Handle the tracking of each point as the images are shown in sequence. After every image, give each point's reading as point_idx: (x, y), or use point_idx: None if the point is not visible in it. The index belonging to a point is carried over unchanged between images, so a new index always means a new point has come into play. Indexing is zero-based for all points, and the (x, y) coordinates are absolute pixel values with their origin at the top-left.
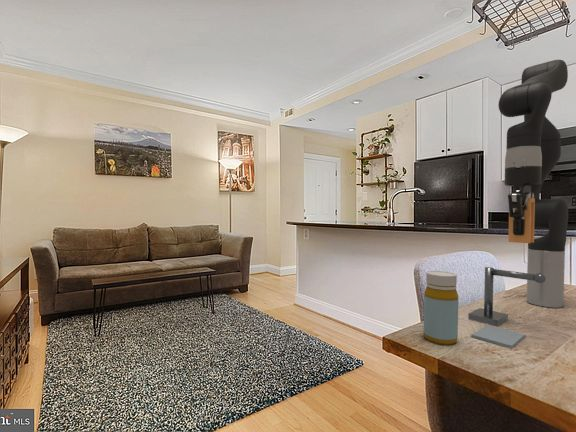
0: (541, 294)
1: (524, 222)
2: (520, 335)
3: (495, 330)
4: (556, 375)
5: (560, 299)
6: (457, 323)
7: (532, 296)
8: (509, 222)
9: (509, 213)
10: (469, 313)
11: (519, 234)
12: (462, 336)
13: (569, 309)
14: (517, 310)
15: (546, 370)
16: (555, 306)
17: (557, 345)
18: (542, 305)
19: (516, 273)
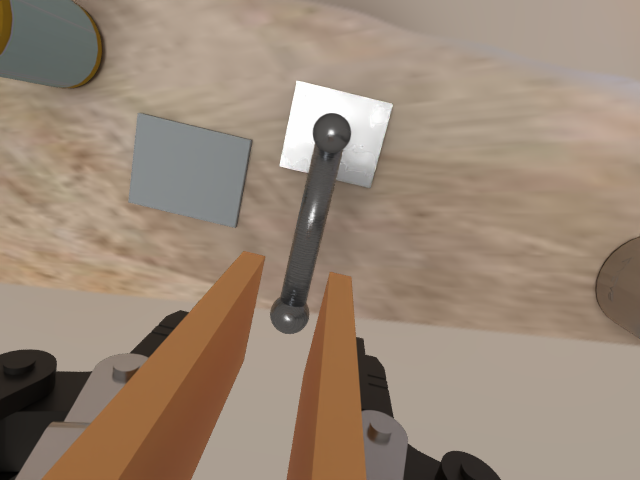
0: (628, 286)
1: None
2: (218, 218)
3: (216, 163)
4: (53, 269)
5: (629, 331)
6: (33, 81)
7: (637, 256)
8: (191, 313)
9: (145, 366)
10: (300, 83)
11: None
12: (131, 92)
13: (606, 338)
14: (502, 207)
15: (63, 256)
16: (603, 308)
17: None
18: (600, 276)
19: (296, 242)
